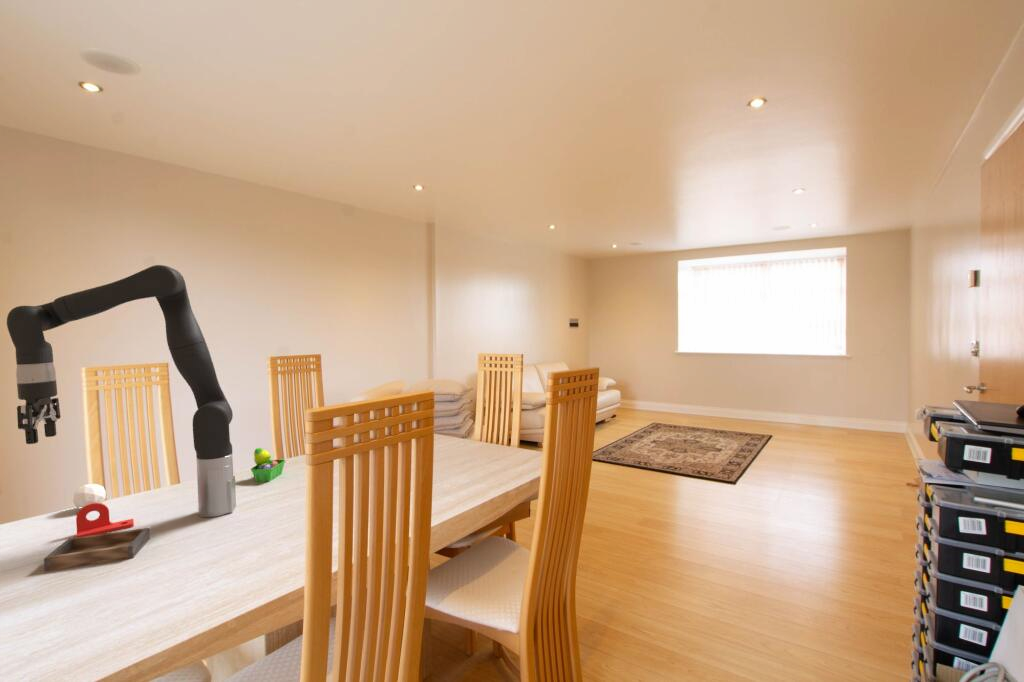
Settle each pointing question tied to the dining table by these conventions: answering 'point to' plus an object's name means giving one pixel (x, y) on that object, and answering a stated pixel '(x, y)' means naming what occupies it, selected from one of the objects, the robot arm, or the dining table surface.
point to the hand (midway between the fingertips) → (41, 439)
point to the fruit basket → (266, 466)
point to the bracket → (98, 521)
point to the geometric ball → (89, 495)
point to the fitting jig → (97, 549)
